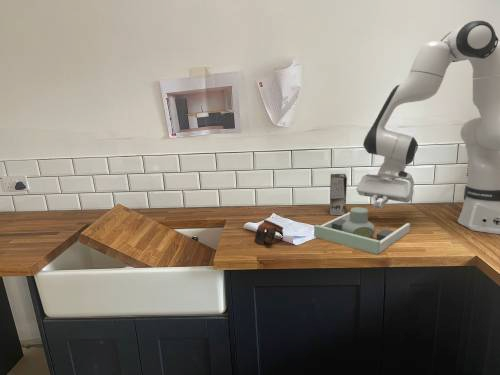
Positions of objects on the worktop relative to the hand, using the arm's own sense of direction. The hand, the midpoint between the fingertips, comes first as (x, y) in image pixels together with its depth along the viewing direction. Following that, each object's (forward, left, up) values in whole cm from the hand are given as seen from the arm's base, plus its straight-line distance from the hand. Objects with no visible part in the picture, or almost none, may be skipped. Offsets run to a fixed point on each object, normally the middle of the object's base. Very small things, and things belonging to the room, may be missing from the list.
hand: (377, 207), depth 127 cm
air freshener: (0, +13, -8) cm, 16 cm away
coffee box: (+20, -7, -8) cm, 23 cm away
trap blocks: (0, +10, -8) cm, 13 cm away
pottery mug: (+21, +37, -8) cm, 43 cm away
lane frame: (0, +10, -8) cm, 13 cm away
